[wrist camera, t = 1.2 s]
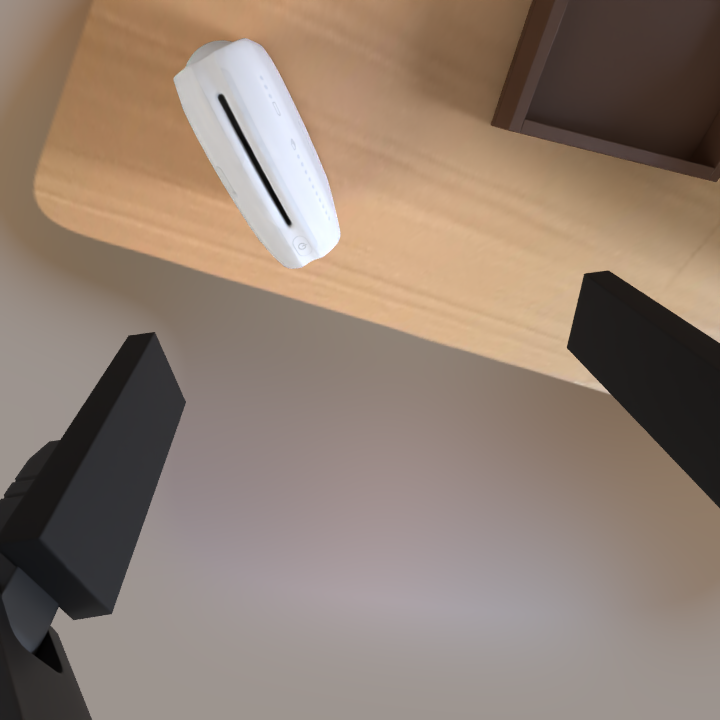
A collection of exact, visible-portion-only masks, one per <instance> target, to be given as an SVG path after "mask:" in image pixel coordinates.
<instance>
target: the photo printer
mask: <svg viewBox="0 0 720 720" xmlns="http://www.w3.org/2000/svg"><path fill="white" fill-rule="evenodd" d="M174 83H175V86H176V89H177V93H178V95H179V98H180V101H181V105H182V108H183V110H184V113H185V115H186V117H187V119H188V121H189V123H190V125H191V127H192V129H193V131H194V133H195V135H196V137H197V139H198V140H199V142H200V144H201V146H202V148H203V150H204V151H205V153H206V155H207V157H208V159H209V160H210V162H211V164H212V166H213V168H214V169H215V171H216V173H217V175H218V176H219V178H220V180H221V181H222V183H223V185H224V186H225V188H226V190H227V191H228V193H229V195H230V196H231V198H232V200H233V201H234V203H235V204H236V206H237V208H238V209H239V211H240V212H241V214H242V215H243V217H244V218H245V220H246V221H247V223H248V225H249V226H250V228H251V229H252V230H253V232H254V233H255V235H256V236H257V238H258V239H259V241H260V242H261V243H262V244H263V245H264V246H265V247H266V249H267V250H268V251H269V252H270V253H271V254H272V255H273V256H274V257H275V259H277V260H278V261H279V262H280V263H281V264H282V265H283V266H284V267H287V268H293V269H294V268H301V267H303V266H305V265H306V264H307V263H309V262H311V261H313V260H315V259H318V258H321V257H323V256H324V255H326V254H327V253H328V252H329V251H331V250H332V249H333V247H334V246H335V245H336V244H337V243H338V241H339V239H340V228H339V224H338V219H337V215H336V211H335V207H334V202H333V198H332V194H331V190H330V186H329V183H328V180H327V177H326V174H325V172H324V169H323V167H322V164H321V162H320V160H319V157H318V155H317V153H316V150H315V148H314V146H313V143H312V141H311V139H310V137H309V134H308V132H307V130H306V128H305V125H304V123H303V121H302V119H301V117H300V115H299V112H298V110H297V108H296V106H295V104H294V102H293V100H292V98H291V96H290V94H289V92H288V90H287V88H286V86H285V84H284V82H283V80H282V78H281V76H280V74H279V72H278V70H277V68H276V66H275V65H274V63H273V61H272V59H271V58H270V56H269V55H268V53H267V52H266V51H265V49H264V48H263V47H262V46H261V45H260V44H258V43H256V42H254V41H252V40H250V39H247V38H242V39H239V40H236V41H234V42H231V41H224V40H222V41H213V42H209V43H207V44H205V45H203V46H201V47H200V48H198V49H197V50H196V51H195V52H194V53H193V54H192V56H191V57H190V59H189V61H188V62H187V65H186V67H185V68H184V69H183V70H181V71H180V72H179V73H178V74H177V75H176V76H175V77H174Z"/></svg>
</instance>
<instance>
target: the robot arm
mask: <svg viewBox="0 0 720 720" xmlns="http://www.w3.org/2000/svg"><path fill="white" fill-rule="evenodd" d="M567 348H568V350H569V351H570V352H571V353H572V354H573V355H574V356H575V357H576V358H577V359H578V360H579V361H580V362H581V363H582V364H583V365H584V366H585V367H586V368H587V369H588V371H589V372H590V373H591V374H592V375H593V376H594V377H595V378H596V379H597V380H598V381H599V382H600V383H601V384H602V385H603V386H604V387H605V388H606V389H607V390H608V391H609V393H610V394H611V395H612V396H613V397H614V398H615V399H616V400H617V401H618V402H619V403H620V404H621V405H622V406H623V407H624V408H625V409H626V410H627V411H628V412H629V413H630V415H631V416H632V417H633V418H634V419H635V420H636V421H637V422H638V423H639V424H640V425H641V426H642V427H643V428H644V429H645V430H646V431H647V432H648V433H649V434H650V436H651V437H652V438H653V439H654V440H655V441H656V442H657V443H658V444H659V445H660V446H661V447H662V448H663V449H664V450H665V451H666V452H667V453H668V454H669V455H670V457H671V458H672V459H673V460H674V461H675V462H676V463H677V464H678V465H679V466H680V467H681V468H682V469H683V470H684V471H685V472H686V473H687V474H688V475H689V476H690V477H691V478H692V480H694V482H695V483H696V484H697V485H698V486H699V487H700V488H701V489H702V490H703V491H704V492H705V493H706V494H707V495H708V496H709V497H710V498H711V499H712V501H714V502H715V504H716V505H717V506H718V507H719V508H720V343H718V342H717V341H715V340H714V339H712V338H711V337H709V336H708V335H706V334H705V333H703V332H702V331H700V330H699V329H697V328H696V327H694V326H692V325H691V324H689V323H688V322H686V321H685V320H683V319H682V318H680V317H679V316H677V315H676V314H674V313H673V312H671V311H670V310H668V309H666V308H665V307H663V306H662V305H660V304H659V303H657V302H656V301H654V300H653V299H651V298H650V297H648V296H647V295H645V294H644V293H642V292H640V291H639V290H637V289H636V288H634V287H633V286H631V285H630V284H628V283H627V282H625V281H624V280H622V279H621V278H619V277H618V276H616V275H614V274H613V273H611V272H610V271H601V272H593V273H586V274H584V277H583V281H582V286H581V290H580V294H579V298H578V303H577V307H576V311H575V315H574V320H573V324H572V328H571V332H570V337H569V341H568V345H567ZM185 403H186V401H185V399H184V397H183V395H182V392H181V390H180V388H179V386H178V383H177V381H176V379H175V376H174V374H173V372H172V370H171V367H170V365H169V363H168V361H167V358H166V356H165V354H164V352H163V350H162V347H161V345H160V343H159V340H158V338H157V336H156V334H155V332H152V333H145V334H138V335H130V336H128V337H127V339H126V341H125V342H124V344H123V345H122V347H121V348H120V350H119V351H118V353H117V354H116V356H115V357H114V359H113V360H112V362H111V364H110V365H109V367H108V368H107V370H106V371H105V373H104V374H103V376H102V377H101V379H100V380H99V382H98V384H97V385H96V386H95V388H94V389H93V391H92V393H91V394H90V396H89V397H88V399H87V400H86V402H85V403H84V405H83V406H82V408H81V409H80V411H79V412H78V414H77V416H76V417H75V418H74V420H73V422H72V423H71V425H70V426H69V428H68V429H67V431H66V432H65V434H64V435H63V437H62V438H61V440H58V441H51V442H48V443H47V444H46V445H45V446H44V447H42V448H41V449H40V450H39V451H38V452H37V453H36V454H35V455H33V456H32V457H31V458H30V459H29V460H28V461H27V463H26V464H25V465H24V467H23V468H22V470H21V471H20V473H19V474H18V476H17V477H16V478H15V480H16V481H15V482H13V483H12V484H11V485H10V487H9V488H8V490H7V491H6V493H5V494H4V499H1V500H0V720H92V718H91V716H90V713H89V711H88V708H87V706H86V703H85V701H84V698H83V696H82V694H81V691H80V688H79V686H78V683H77V681H76V678H75V676H74V673H73V671H72V668H71V666H70V663H69V661H68V658H67V656H66V653H65V651H64V648H63V646H62V643H61V641H60V638H59V636H58V633H57V632H56V631H55V630H54V629H53V628H52V627H51V626H50V625H51V623H52V620H53V618H54V616H55V614H56V611H57V609H58V607H60V608H61V609H62V610H63V611H64V612H65V613H67V615H68V616H70V617H71V618H72V619H73V620H77V619H84V618H90V617H96V616H102V615H108V614H112V612H113V609H114V605H115V603H116V600H117V597H118V594H119V592H120V589H121V586H122V583H123V580H124V577H125V574H126V571H127V569H128V566H129V563H130V560H131V557H132V555H133V552H134V548H135V546H136V543H137V540H138V537H139V535H140V532H141V529H142V526H143V523H144V520H145V517H146V515H147V512H148V509H149V506H150V503H151V500H152V497H153V495H154V492H155V489H156V486H157V483H158V480H159V478H160V475H161V472H162V469H163V466H164V463H165V460H166V458H167V455H168V452H169V449H170V446H171V443H172V440H173V438H174V435H175V432H176V429H177V426H178V423H179V421H180V417H181V415H182V412H183V409H184V406H185Z"/></svg>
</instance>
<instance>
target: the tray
mask: <svg viewBox="0 0 720 720" xmlns="http://www.w3.org/2000/svg"><path fill="white" fill-rule="evenodd" d="M491 125H492V126H495V127H498V128H502V129H505V130H509V131H513V132H517V133H521V134H525V135H529V136H533V137H537V138H541V139H545V140H549V141H553V142H557V143H561V144H565V145H569V146H573V147H577V148H581V149H585V150H589V151H593V152H597V153H601V154H605V155H609V156H613V157H617V158H621V159H625V160H629V161H633V162H637V163H641V164H645V165H649V166H653V167H657V168H661V169H665V170H669V171H673V172H677V173H681V174H685V175H689V176H693V177H697V178H701V179H705V180H709V181H713V182H717V181H718V179H719V178H720V0H533V1H532V4H531V7H530V9H529V12H528V15H527V18H526V21H525V24H524V27H523V30H522V33H521V36H520V39H519V42H518V45H517V48H516V51H515V54H514V57H513V60H512V63H511V66H510V69H509V72H508V75H507V78H506V81H505V84H504V87H503V90H502V93H501V96H500V99H499V102H498V105H497V108H496V111H495V114H494V117H493V120H492V123H491Z"/></svg>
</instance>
